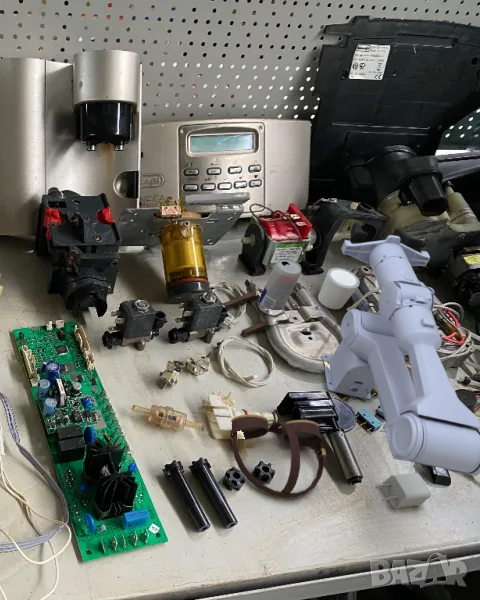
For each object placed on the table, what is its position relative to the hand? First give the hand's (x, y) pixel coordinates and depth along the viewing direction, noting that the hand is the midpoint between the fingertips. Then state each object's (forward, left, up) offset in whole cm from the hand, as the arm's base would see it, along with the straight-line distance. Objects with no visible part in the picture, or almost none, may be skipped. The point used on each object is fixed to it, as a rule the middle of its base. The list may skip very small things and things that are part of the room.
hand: (374, 229), depth 103 cm
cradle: (-8, +18, -21) cm, 29 cm away
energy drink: (-5, +14, -21) cm, 26 cm away
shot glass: (+2, 0, -21) cm, 21 cm away
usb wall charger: (-45, -4, -21) cm, 50 cm away
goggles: (-44, +15, -21) cm, 51 cm away
